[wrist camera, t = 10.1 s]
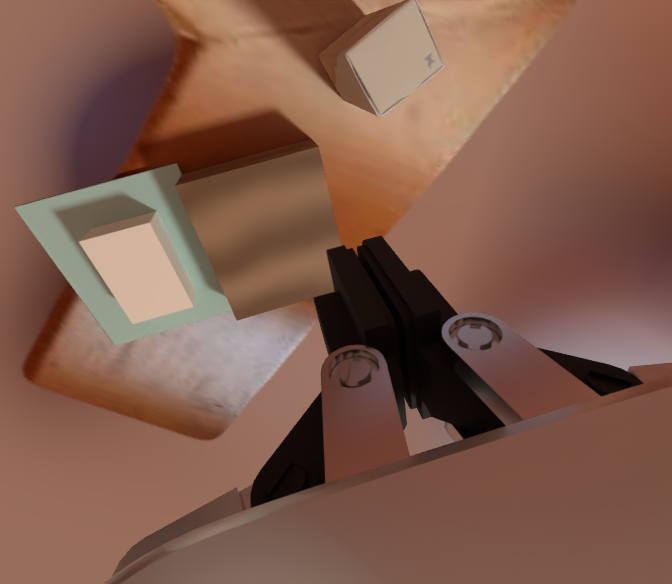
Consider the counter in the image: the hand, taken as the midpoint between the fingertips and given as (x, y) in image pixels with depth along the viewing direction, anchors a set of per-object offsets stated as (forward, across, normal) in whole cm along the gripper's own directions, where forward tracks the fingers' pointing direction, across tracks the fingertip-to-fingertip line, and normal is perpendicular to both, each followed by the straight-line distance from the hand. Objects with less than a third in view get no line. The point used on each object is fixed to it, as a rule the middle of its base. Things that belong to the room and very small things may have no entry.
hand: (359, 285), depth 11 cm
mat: (+26, +16, +8) cm, 32 cm away
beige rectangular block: (+24, +16, +8) cm, 30 cm away
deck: (+26, +3, +8) cm, 27 cm away
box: (+26, -7, -5) cm, 28 cm away
